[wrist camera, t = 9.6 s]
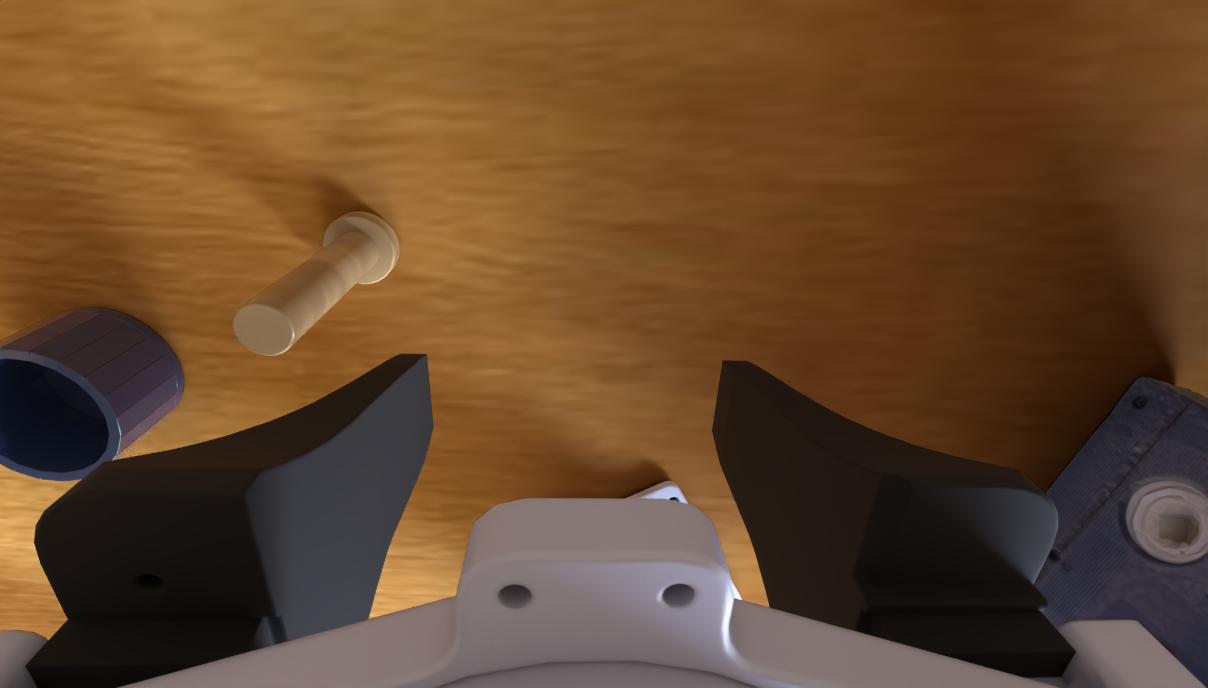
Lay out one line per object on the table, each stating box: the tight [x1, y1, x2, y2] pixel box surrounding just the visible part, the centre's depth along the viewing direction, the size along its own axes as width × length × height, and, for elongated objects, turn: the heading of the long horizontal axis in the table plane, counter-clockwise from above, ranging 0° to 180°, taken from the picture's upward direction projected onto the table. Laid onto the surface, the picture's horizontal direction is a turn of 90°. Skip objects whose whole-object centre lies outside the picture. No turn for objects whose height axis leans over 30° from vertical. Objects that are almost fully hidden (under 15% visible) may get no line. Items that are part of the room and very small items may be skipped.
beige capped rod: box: [233, 211, 400, 356], centre depth 18 cm, size 3×3×8 cm
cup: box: [0, 307, 184, 481], centre depth 22 cm, size 5×5×4 cm
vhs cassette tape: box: [1033, 377, 1208, 688], centre depth 25 cm, size 18×3×10 cm, turn 160°
